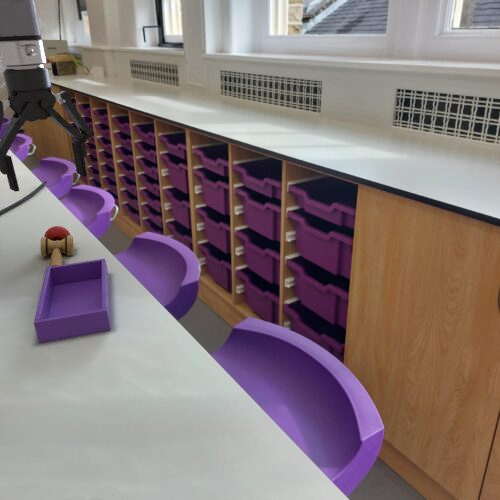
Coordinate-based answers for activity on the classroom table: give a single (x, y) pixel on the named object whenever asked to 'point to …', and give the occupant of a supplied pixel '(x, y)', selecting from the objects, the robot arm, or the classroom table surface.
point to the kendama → (56, 244)
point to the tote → (73, 301)
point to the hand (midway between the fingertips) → (49, 181)
